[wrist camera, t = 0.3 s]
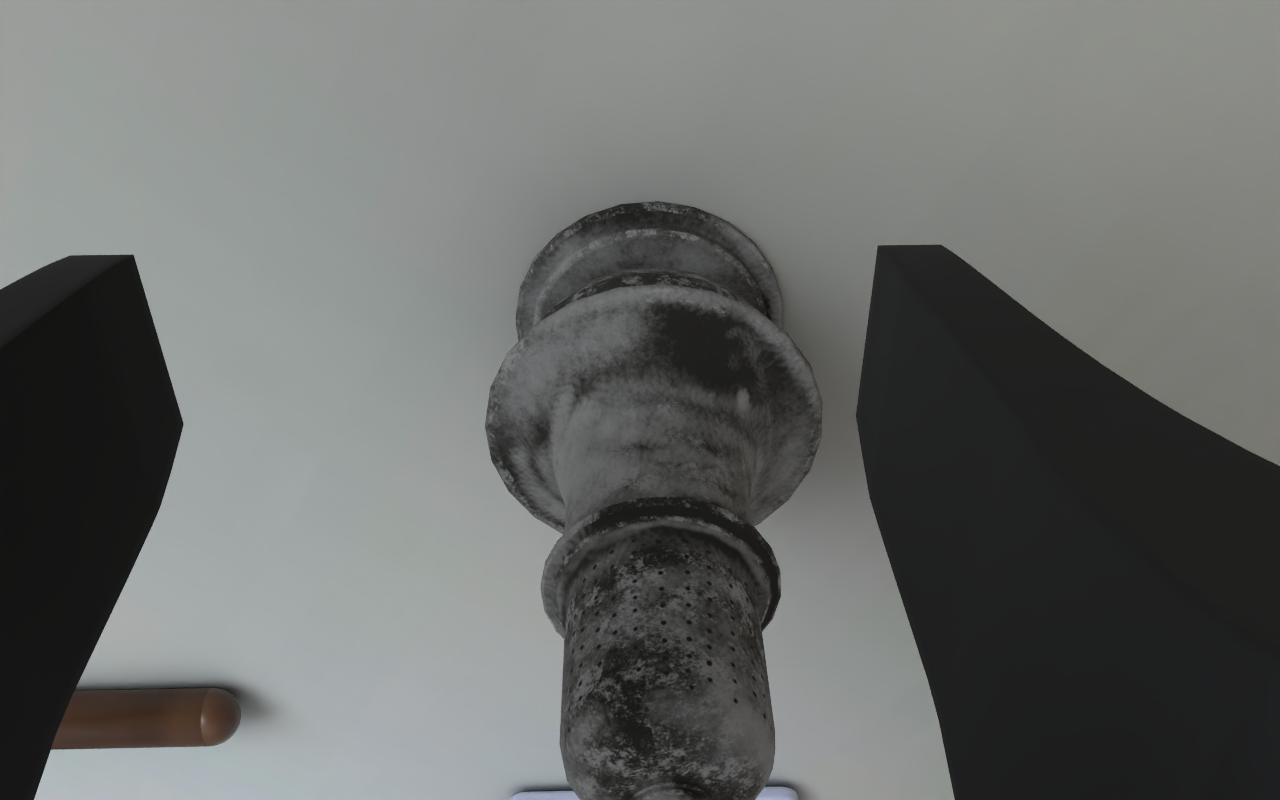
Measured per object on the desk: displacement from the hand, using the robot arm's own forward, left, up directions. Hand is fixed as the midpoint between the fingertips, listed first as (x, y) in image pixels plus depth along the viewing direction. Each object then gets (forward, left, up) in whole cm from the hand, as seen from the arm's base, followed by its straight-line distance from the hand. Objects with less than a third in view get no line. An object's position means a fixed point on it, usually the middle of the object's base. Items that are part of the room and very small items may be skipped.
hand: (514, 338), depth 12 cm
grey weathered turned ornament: (-6, -1, -10) cm, 12 cm away
